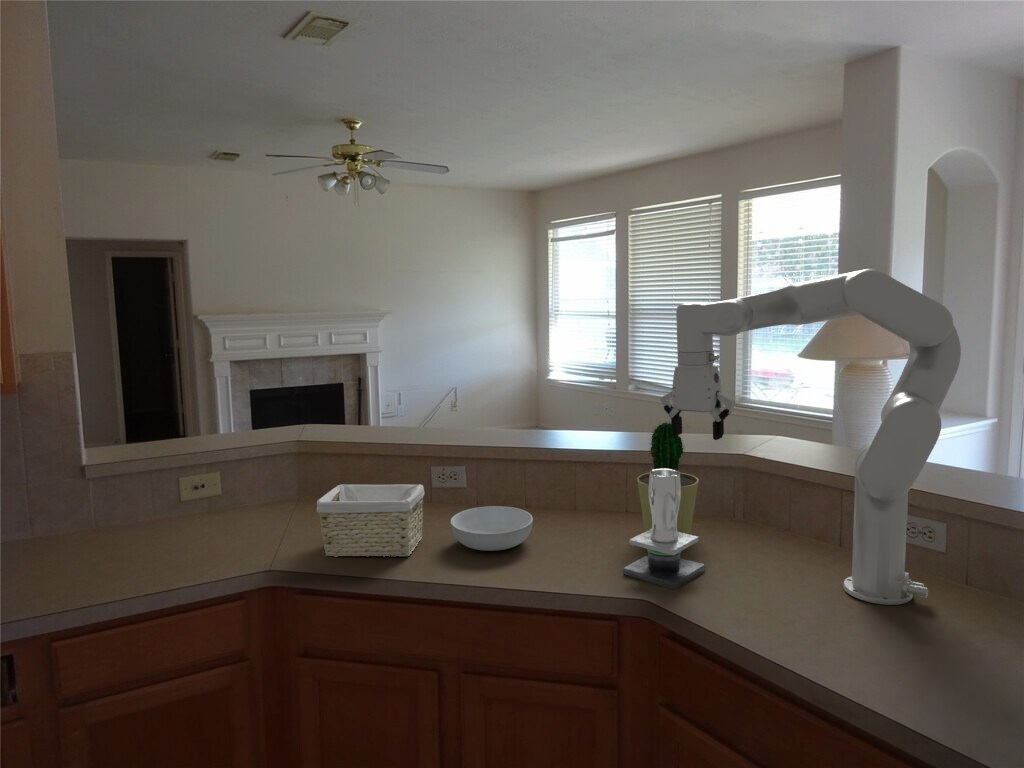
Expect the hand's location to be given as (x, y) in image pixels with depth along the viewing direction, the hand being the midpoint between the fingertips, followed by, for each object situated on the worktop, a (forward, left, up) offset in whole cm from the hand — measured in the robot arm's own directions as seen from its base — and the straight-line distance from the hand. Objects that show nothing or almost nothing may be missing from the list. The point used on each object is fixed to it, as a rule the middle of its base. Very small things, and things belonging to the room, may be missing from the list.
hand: (697, 436), depth 156 cm
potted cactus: (+17, -16, -31) cm, 38 cm away
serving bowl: (+48, +17, -31) cm, 59 cm away
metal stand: (+5, +6, -31) cm, 31 cm away
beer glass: (+5, +6, -23) cm, 24 cm away
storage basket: (+70, +38, -31) cm, 85 cm away
